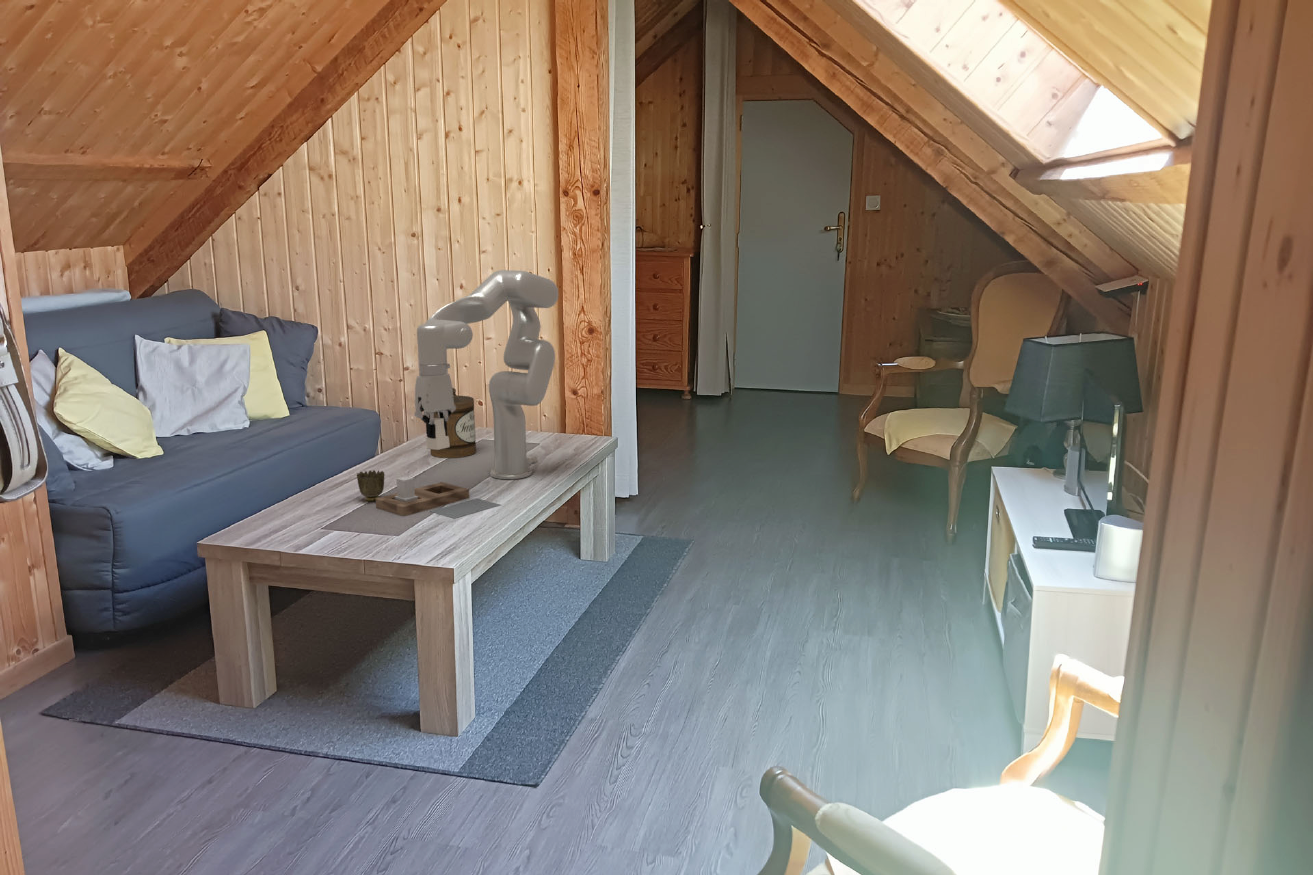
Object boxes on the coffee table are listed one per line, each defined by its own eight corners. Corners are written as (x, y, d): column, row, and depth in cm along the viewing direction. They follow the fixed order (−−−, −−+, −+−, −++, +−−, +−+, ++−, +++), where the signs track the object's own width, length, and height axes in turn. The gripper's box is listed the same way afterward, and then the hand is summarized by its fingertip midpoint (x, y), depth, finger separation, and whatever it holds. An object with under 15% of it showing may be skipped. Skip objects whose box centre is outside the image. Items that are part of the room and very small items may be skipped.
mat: (476, 500, 275) (476, 498, 275) (501, 506, 269) (501, 504, 268) (430, 513, 263) (430, 511, 263) (454, 520, 257) (454, 518, 256)
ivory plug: (438, 446, 275) (435, 417, 273) (449, 446, 272) (446, 418, 270) (427, 448, 272) (423, 419, 270) (438, 449, 269) (434, 420, 267)
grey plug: (407, 503, 269) (405, 475, 268) (418, 507, 266) (416, 478, 265) (395, 507, 266) (393, 478, 265) (406, 510, 263) (404, 481, 262)
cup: (385, 504, 271) (383, 475, 269) (357, 505, 270) (355, 477, 268) (387, 496, 278) (385, 469, 276) (359, 498, 277) (357, 470, 275)
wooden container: (471, 458, 322) (468, 391, 317) (425, 458, 323) (422, 391, 318) (480, 447, 337) (477, 383, 332) (436, 447, 337) (433, 383, 332)
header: (441, 492, 283) (441, 482, 282) (469, 499, 275) (468, 489, 275) (376, 509, 266) (375, 498, 266) (403, 517, 259) (403, 506, 258)
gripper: (448, 365, 275) (452, 429, 280) (399, 372, 263) (403, 440, 267) (466, 367, 271) (469, 433, 275) (417, 375, 258) (421, 444, 263)
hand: (437, 436), depth 271 cm, fingers closed on ivory plug, 3 cm apart
